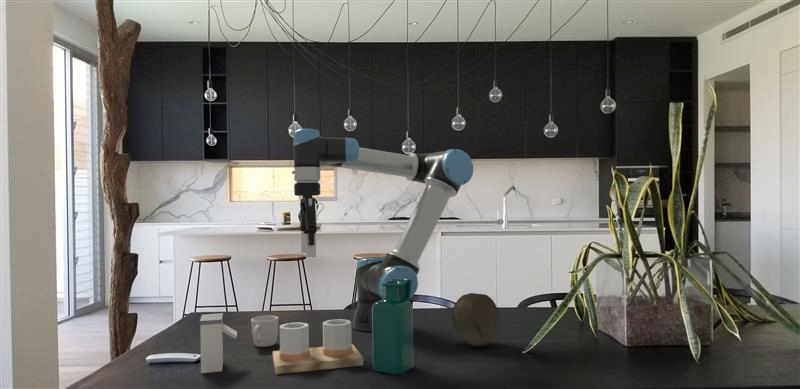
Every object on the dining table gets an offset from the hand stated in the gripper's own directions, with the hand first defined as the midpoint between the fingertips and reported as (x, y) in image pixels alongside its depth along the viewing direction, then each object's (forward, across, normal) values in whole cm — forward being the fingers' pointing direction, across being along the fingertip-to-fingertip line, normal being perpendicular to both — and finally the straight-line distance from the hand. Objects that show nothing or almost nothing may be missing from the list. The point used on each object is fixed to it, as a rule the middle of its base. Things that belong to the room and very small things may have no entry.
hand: (308, 255), depth 160 cm
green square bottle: (+27, +28, +18) cm, 43 cm away
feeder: (+27, +12, -24) cm, 38 cm away
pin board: (+27, +16, 0) cm, 31 cm away
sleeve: (+25, +16, -6) cm, 30 cm away
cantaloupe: (+27, +15, +46) cm, 55 cm away
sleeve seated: (+25, +16, +6) cm, 30 cm away
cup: (+27, -5, -13) cm, 30 cm away
